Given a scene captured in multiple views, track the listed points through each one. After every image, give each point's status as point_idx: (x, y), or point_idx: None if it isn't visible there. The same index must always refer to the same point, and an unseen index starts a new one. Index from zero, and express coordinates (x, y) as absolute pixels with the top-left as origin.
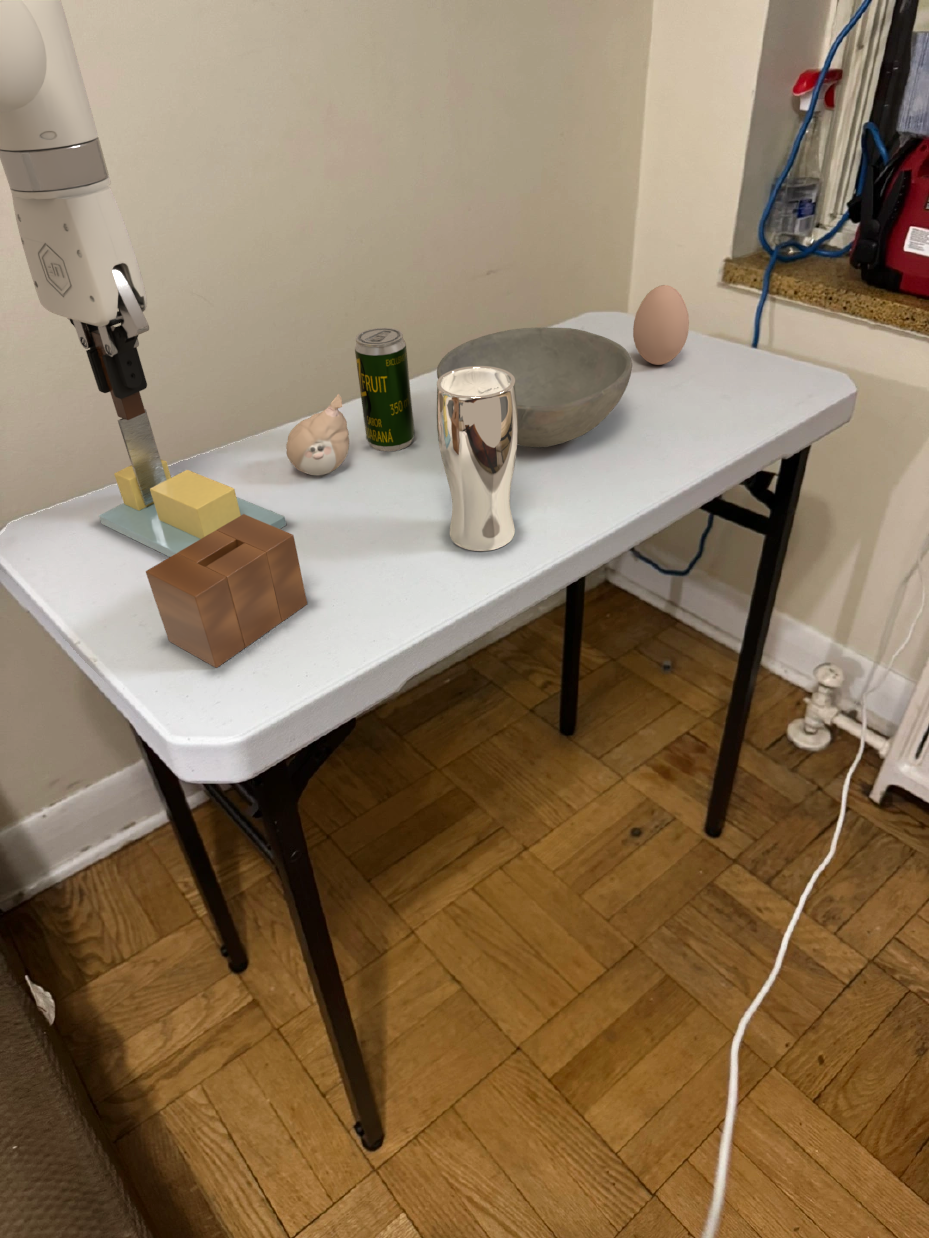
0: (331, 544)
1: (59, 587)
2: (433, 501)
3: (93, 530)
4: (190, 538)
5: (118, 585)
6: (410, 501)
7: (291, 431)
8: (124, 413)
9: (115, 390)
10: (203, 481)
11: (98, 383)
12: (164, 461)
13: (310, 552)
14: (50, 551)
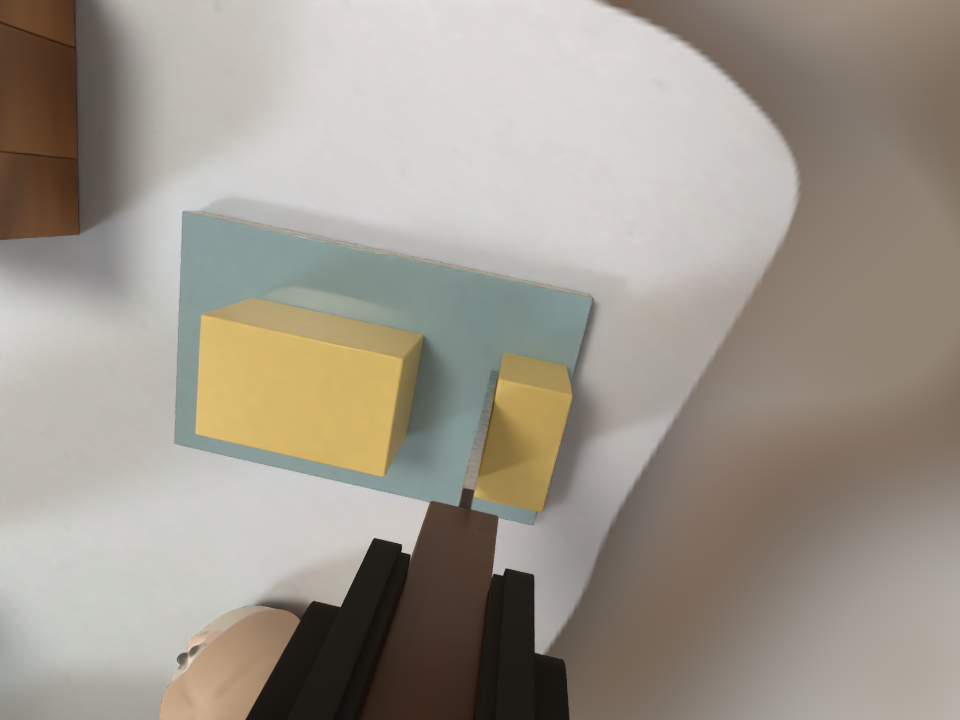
0: (60, 404)
1: (478, 15)
2: (9, 590)
3: (591, 263)
4: (295, 295)
5: (347, 90)
6: (44, 579)
7: None
8: (436, 518)
9: (364, 561)
10: (293, 438)
11: (512, 600)
12: (476, 494)
13: (74, 365)
14: (630, 139)
